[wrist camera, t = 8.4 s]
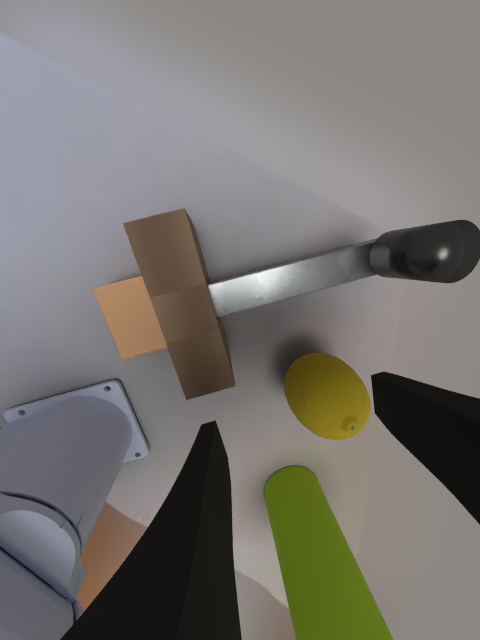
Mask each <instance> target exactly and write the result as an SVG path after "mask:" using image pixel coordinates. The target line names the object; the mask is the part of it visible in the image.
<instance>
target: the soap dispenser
mask: <svg viewBox="0 0 480 640" xmlns="http://www.w3.org/2000/svg"><path fill="white" fill-rule="evenodd" d="M264 496H265V501H266V506H267V510H268V515H269V519H270V524H271V528H272V533H273V537H274V542H275V546H276V551H277V555H278V560H279V564H280V569H281V573H282V578H283V582H284V587H285V591H286V596H287V600H288V605H289V609H290V614H291V618H292V623H293V627H294V631H295V636H296V640H393V638H392V636H391V634H390V631H389V630H388V627H387V625H386V623H385V621H384V619H383V617H382V615H381V613H380V611H379V609H378V606H377V604H376V602H375V600H374V598H373V596H372V594H371V592H370V590H369V588H368V586H367V584H366V581H365V579H364V577H363V575H362V573H361V571H360V569H359V567H358V564H357V562H356V560H355V558H354V556H353V554H352V552H351V550H350V548H349V546H348V544H347V541H346V539H345V537H344V535H343V533H342V531H341V529H340V527H339V525H338V523H337V521H336V518H335V516H334V514H333V512H332V510H331V508H330V506H329V504H328V502H327V500H326V497H325V495H324V493H323V491H322V489H321V487H320V485H319V483H318V481H317V479H316V477H315V475H314V474H313V472H312V471H310V470H309V469H307V468H305V467H301V466H290V467H286V468H283V469H280V470H279V471H277V472H275V473H274V474H273V475H272V476H271V477H270V478H269V479H268V481H267V482H266V485H265V488H264Z"/></svg>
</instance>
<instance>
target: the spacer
mask: <svg viewBox="0 0 480 640" xmlns="http://www.w3.org/2000/svg"><path fill="white" fill-rule="evenodd" d="M92 289H93V291H94V294H95V296H96V298H97V301H98V303H99V305H100V308H101V310H102V312H103V315H104V317H105V320H106V322H107V324H108V327H109V329H110V331H111V334H112V336H113V338H114V341H115V343H116V346H117V348H118V350H119V353H120V355H121V357H122V360H123V359H126V358H130V357H134V356H137V355H141V354H145V353H148V352H152V351H156V350H159V349H163V348H167V344H166V341H165V339H164V336H163V333H162V330H161V328H160V325H159V322H158V319H157V316H156V314H155V311H154V308H153V305H152V302H151V300H150V297H149V294H148V291H147V288H146V286H145V283H144V280H143V277H142V276H139V277H135V278H131V279H127V280H123V281H119V282H115V283H112V284H108V285H104V286H100V287H96V288H92Z"/></svg>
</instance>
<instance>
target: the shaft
mask: <svg viewBox="0 0 480 640" xmlns="http://www.w3.org/2000/svg"><path fill="white" fill-rule="evenodd" d="M479 259H480V230H479V229H478V227H477V226H476V225H475V224H473V223H472V222H470V221H467V220H456V221H450V222H444V223H438V224H432V225H425V226H419V227H413V228H407V229H401V230H394V231H389V232H386V233H384V234H382V235H381V236H380V237H379V238H377V239H373V240H370V241H366V242H362V243H358V244H354V245H351V246H347V247H343V248H339V249H335V250H331V251H328V252H324V253H320V254H316V255H312V256H308V257H305V258H301V259H297V260H293V261H289V262H285V263H282V264H278V265H274V266H270V267H266V268H262V269H259V270H255V271H251V272H247V273H243V274H240V275H236V276H232V277H228V278H224V279H220V280H217V281H213V282H209V283H207V285H208V288H209V292H210V295H211V299H212V302H213V306H214V309H215V313H216V316H217V317H221V316H224V315H228V314H232V313H235V312H239V311H243V310H247V309H250V308H254V307H258V306H261V305H265V304H269V303H273V302H276V301H280V300H284V299H287V298H291V297H295V296H299V295H302V294H306V293H310V292H313V291H317V290H321V289H325V288H328V287H332V286H336V285H339V284H343V283H347V282H351V281H354V280H358V279H362V278H365V277H369V276H373V275H377V274H378V275H379V276H382V277H389V278H399V279H410V280H420V281H430V282H440V283H453V282H457V281H459V280H461V279H463V278H465V277H466V276H467V275H468V274H469V273H471V271H472V270H473V269H474V268H475V266H476V265H477V263H478V261H479Z"/></svg>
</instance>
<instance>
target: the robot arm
mask: <svg viewBox="0 0 480 640" xmlns="http://www.w3.org/2000/svg"><path fill="white" fill-rule="evenodd" d="M371 379H372V389H373V399H374V409H375V414H376V415H377V416H378V418H379V419H380V420H381V422H382V423H383V424H384V425H385V426H386V428H387V429H388V430H389V431H390V432H391V434H393V435H394V437H395V438H396V439H397V440H398V441H399V442H400V443H402V444H403V445H404V446H405V447H406V448H407V449H408V450H409V451H410V452H411V453H412V454H413V455H414V456H415V457H416V458H417V459H418V460H419V461H420V462H421V463H422V464H423V465H424V466H425V467H426V468H427V469H428V470H429V471H430V472H431V473H432V474H433V475H434V476H436V478H437V479H439V480H440V481H441V482H442V483H443V484H444V486H446V487H447V489H448V490H449V491H451V493H452V494H453V495H454V496H455V497H456V498H457V499H458V500H459V502H460V503H461V504H462V505H463V506H464V507H465V508H466V509H467V511H468V512H469V513H470V514H471V515H472V516H473V517H474V518H475V519H476V521H477V522H478V523H479V524H480V399H479V398H475V397H471V396H467V395H463V394H459V393H456V392H452V391H448V390H445V389H442V388H438V387H435V386H431V385H428V384H425V383H422V382H418V381H415V380H412V379H409V378H405V377H402V376H399V375H395V374H391V373H388V372H381V373H377V374H374V375H371ZM106 386H109V387H110V388H111V389H107V388H106ZM22 410H24V411H25V412H23V411H22ZM3 417H4V419H5V421H6V422H7V424H6V425H5V426H4V427H3V428H1V429H0V640H242V639H241V630H240V621H239V612H238V603H237V592H236V582H235V572H234V560H233V537H232V500H231V479H230V471H229V463H228V457H227V454H226V451H225V448H224V445H223V441H222V438H221V435H220V432H219V429H218V426H217V423H216V421H212V422H209V423H206V424H202V425H201V427H200V429H199V432H198V434H197V437H196V439H195V441H194V444H193V446H192V448H191V451H190V453H189V455H188V457H187V459H186V461H185V463H184V465H183V468H182V470H181V472H180V474H179V475H178V477H177V479H176V481H175V483H174V485H173V487H172V489H171V490H170V492H169V494H168V496H167V498H166V499H165V501H164V503H163V504H162V506H161V508H160V509H159V511H158V513H157V514H156V516H155V517H154V519H153V521H152V522H151V524H150V525H149V527H148V528H147V530H146V531H145V533H144V534H143V536H142V537H141V539H140V540H139V541H138V543H137V544H136V546H135V547H134V548H133V550H132V551H131V553H130V554H129V555H128V557H127V558H126V560H125V561H124V562H123V564H122V565H121V566H120V568H119V569H118V570H117V571H116V573H115V574H114V575H113V577H112V578H111V579H110V581H109V582H108V583H107V584H106V586H105V587H104V588H103V589H102V590H101V592H100V593H99V594H98V595H97V597H96V598H95V599H94V600H93V602H92V603H91V604H90V605H89V606H88V608H87V609H86V610H85V611H84V609H83V607H82V605H81V603H80V602H79V601H78V600H76V597H77V594H78V592H79V590H80V587H81V585H82V582H83V580H84V577H85V575H86V573H87V569H86V568H85V567H84V566H83V565H82V563H81V560H80V557H81V555H82V552H83V550H84V548H85V546H86V544H87V541H88V539H89V537H90V535H91V532H92V530H93V528H94V525H95V523H96V521H97V519H98V517H99V514H100V512H101V510H102V507H103V505H104V503H105V501H106V499H107V496H108V494H109V492H110V490H111V487H112V485H113V483H114V480H115V478H116V476H117V474H118V471H119V469H120V467H121V465H122V464H123V463H127V462H130V461H133V460H137V459H140V458H144V457H146V456H148V454H149V451H150V449H149V446H148V444H147V442H146V439H145V437H144V435H143V433H142V430H141V428H140V426H139V424H138V421H137V419H136V417H135V414H134V412H133V410H132V408H131V405H130V403H129V401H128V398H127V396H126V394H125V392H124V389H123V387H122V385H121V383H120V382H119V381H118V380H111V381H107V382H104V383H100V384H96V385H93V386H89V387H85V388H82V389H78V390H75V391H71V392H67V393H64V394H60V395H57V396H53V397H49V398H46V399H42V400H38V401H35V402H31V403H28V404H24V405H20V406H17V407H13V408H10V409H8V410H6V411H5V412H4V413H3ZM137 452H139V453H140V454H138V453H137Z"/></svg>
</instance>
